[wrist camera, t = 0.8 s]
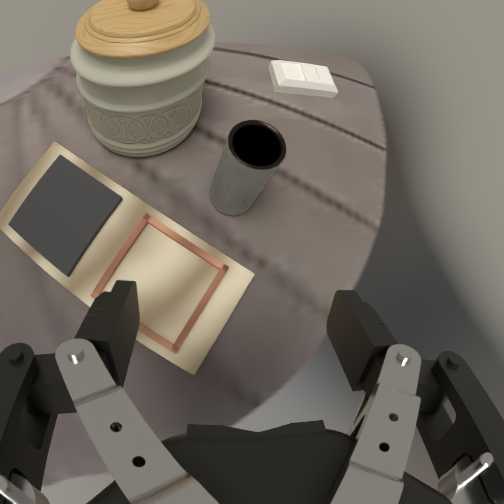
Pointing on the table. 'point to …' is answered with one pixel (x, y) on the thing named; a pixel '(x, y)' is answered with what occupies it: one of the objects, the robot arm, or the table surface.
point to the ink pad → (64, 214)
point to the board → (147, 270)
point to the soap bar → (302, 79)
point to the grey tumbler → (246, 166)
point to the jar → (143, 71)
